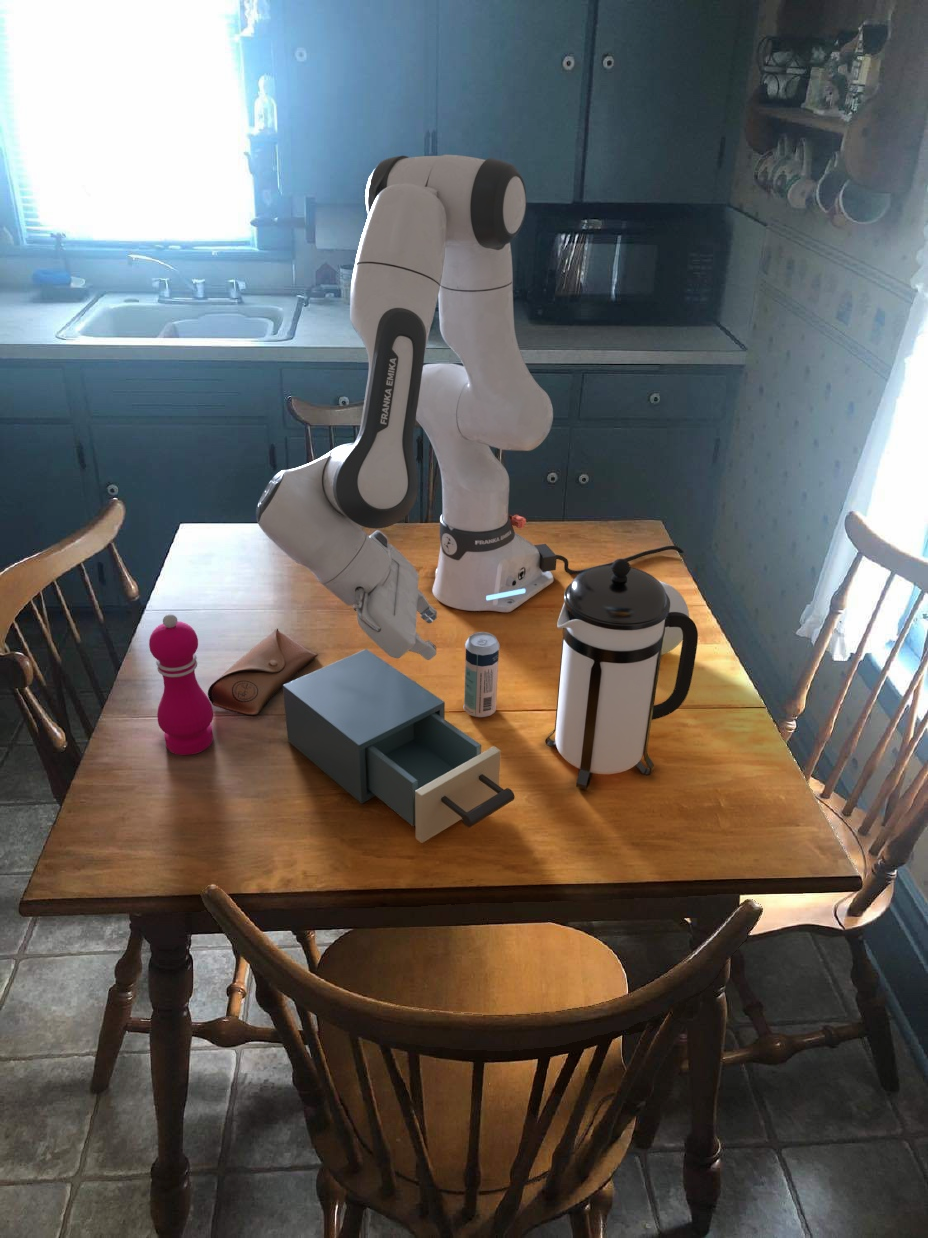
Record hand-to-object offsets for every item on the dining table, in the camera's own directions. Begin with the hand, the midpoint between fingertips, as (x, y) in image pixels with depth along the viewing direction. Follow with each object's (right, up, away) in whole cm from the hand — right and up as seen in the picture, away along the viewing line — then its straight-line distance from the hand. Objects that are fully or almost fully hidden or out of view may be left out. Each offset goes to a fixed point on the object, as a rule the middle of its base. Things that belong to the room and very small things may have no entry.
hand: (433, 635), depth 130 cm
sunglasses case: (-26, -7, +12) cm, 29 cm away
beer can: (+6, -11, +7) cm, 14 cm away
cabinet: (-9, -15, -2) cm, 18 cm away
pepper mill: (-33, -15, -1) cm, 36 cm away
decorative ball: (+33, -3, +21) cm, 40 cm away
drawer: (0, -20, -11) cm, 23 cm away
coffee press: (+23, -16, -2) cm, 28 cm away
